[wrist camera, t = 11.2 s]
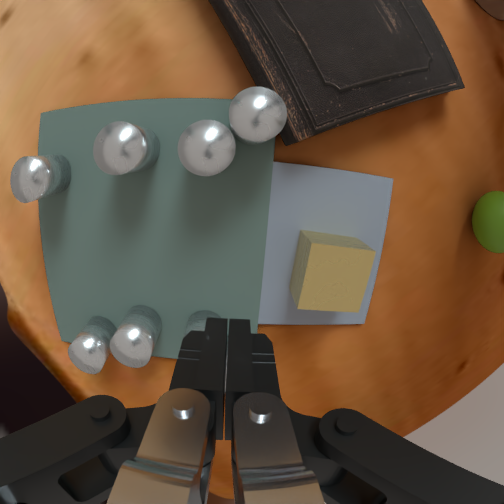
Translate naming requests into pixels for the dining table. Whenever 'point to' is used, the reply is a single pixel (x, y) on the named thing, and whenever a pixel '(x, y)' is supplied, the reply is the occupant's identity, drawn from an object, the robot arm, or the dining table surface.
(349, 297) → the wood grain cube
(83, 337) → the aluminium spacers
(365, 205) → the felt pad
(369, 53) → the hardcover book
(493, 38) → the dining table surface
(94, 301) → the mat
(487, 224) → the snail figurine
